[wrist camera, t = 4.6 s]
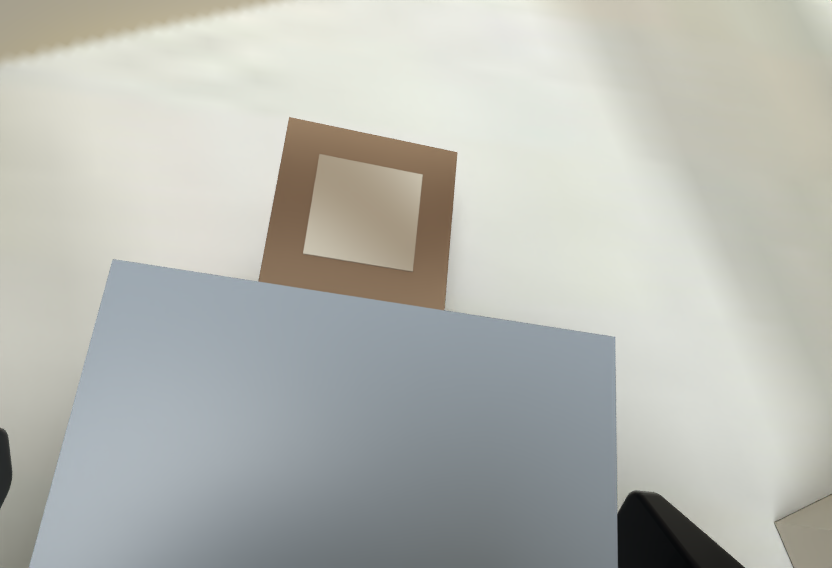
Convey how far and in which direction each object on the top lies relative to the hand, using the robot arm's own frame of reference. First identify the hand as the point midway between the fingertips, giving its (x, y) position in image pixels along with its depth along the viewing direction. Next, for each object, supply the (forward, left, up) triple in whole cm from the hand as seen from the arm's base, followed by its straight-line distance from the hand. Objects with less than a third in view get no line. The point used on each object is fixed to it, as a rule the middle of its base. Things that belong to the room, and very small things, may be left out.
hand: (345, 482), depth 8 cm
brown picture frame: (+2, +5, -7) cm, 9 cm away
